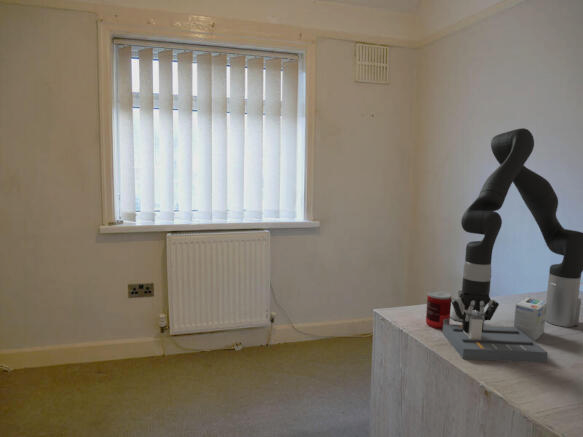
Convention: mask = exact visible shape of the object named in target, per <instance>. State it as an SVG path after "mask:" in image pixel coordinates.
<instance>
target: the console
mask: <svg viewBox="0 0 583 437" xmlns="http://www.w3.org/2000/svg"><path fill="white" fill-rule="evenodd" d="M441 333H442V334H443V336H444V337H445V338H446V340H448V342H449V343H450V344H451V346H452V347H453V348H454V350H455V351H456V352H457V353H458V354H459V356H460V358H462V359H464V360H479V361H481V360H485V361H499V362H500V361H501V362H502V361H505V362H525V363H529V362H530V363H544V364H546V363H547V362H548V361H547V360H548V351H547V350H545V349H544V348H542V347H541V346H540V345H539V344H537V343H536V341H532V340H531V339H530V338H529V337H527V336H526V335H525V334H524V333H522V332H521V331H520V330H518V329H517V328H516V327H514V326H501V325H499V326H497V325H483V331H482V335H481V340H478V339H470V338H469V337H468V336H467V335H466V334H465V333H464V332H463V329H462V324H452V323H451V324H450V323H449V324H443V329H442V332H441Z"/></svg>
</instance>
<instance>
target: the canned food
mask: <svg viewBox="0 0 583 437" xmlns="http://www.w3.org/2000/svg"><path fill="white" fill-rule="evenodd" d="M451 299H452V294H451V293H450V292H447V291H443V290H430V291H428V292H427V297H426V313H425V314H426V315H425V323H426V325H427V326H429V327H431V328H433V329H440V330H441V329H442V330H443V324H450V319H451V318H450V313H451V311H452V309H451V307H452V302H451Z"/></svg>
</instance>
